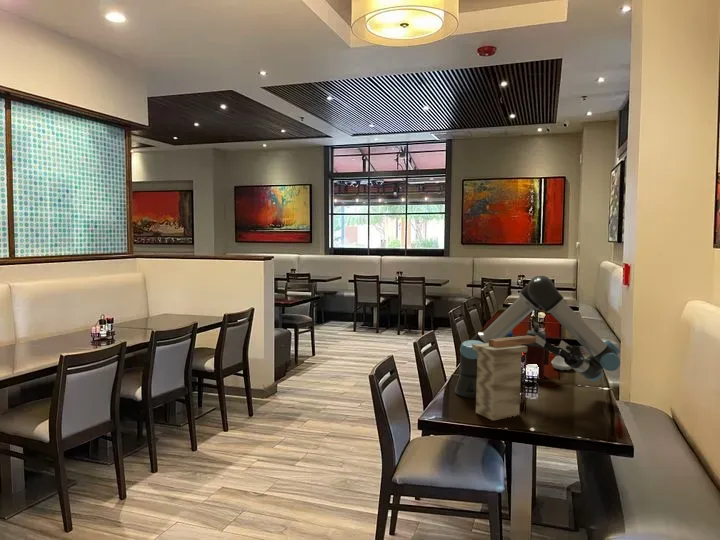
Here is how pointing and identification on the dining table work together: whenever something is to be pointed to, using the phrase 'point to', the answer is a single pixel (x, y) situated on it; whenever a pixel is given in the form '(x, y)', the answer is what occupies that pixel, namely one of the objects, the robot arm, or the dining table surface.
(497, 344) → the strip
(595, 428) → the dining table surface
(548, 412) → the dining table surface
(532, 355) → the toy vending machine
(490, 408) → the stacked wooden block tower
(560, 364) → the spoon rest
